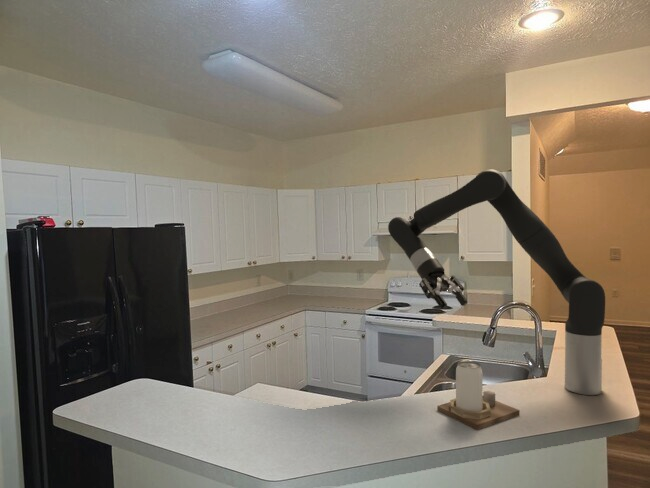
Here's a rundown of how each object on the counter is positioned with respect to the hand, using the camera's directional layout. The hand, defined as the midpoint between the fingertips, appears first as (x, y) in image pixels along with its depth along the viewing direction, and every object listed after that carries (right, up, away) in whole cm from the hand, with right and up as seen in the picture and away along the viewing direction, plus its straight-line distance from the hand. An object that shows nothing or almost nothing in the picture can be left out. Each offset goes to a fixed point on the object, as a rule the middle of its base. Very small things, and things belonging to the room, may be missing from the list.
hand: (455, 305), depth 126 cm
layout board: (+1, -26, -15) cm, 30 cm away
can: (-2, -25, -17) cm, 30 cm away
